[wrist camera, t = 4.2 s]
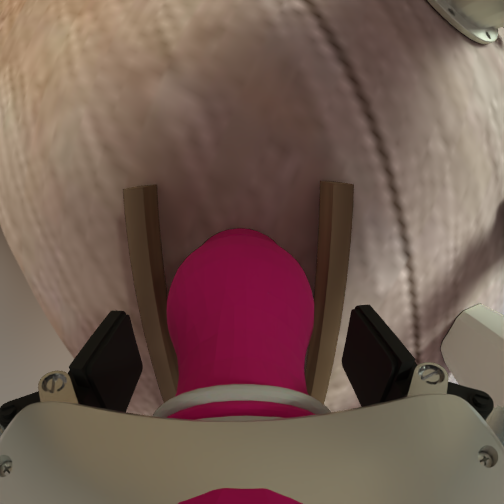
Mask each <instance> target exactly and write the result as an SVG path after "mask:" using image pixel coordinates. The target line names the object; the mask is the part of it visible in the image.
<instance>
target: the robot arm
mask: <svg viewBox="0 0 504 504" xmlns="http://www.w3.org/2000/svg"><path fill="white" fill-rule="evenodd" d="M427 1H428V2H429V3H430V4H431V5H432V6H433V7H434V8H435V9H436V10H437V11H438V12H439V13H440V14H441V16H442V17H444V18H445V19H446V20H447V21H448V22H449V23H450V24H451V25H452V26H454V27H455V28H456V29H457V30H459V31H460V32H461V33H463V34H464V35H466V36H467V37H468V38H470V39H472V40H474V41H476V42H478V43H481V44H489V43H492V42H494V41H495V40H496V39H497V36H498V28H500V27H503V28H504V0H427ZM414 361H415V358H414V357H413V356H412V355H411V353H410V352H409V351H408V350H407V348H406V347H405V346H404V345H403V344H402V342H401V341H400V340H399V339H398V337H397V336H396V335H395V334H394V333H393V332H392V330H391V329H390V328H389V327H388V326H387V324H386V323H385V322H384V321H383V320H382V319H381V317H380V316H379V315H378V314H377V313H376V312H375V310H374V309H373V308H372V307H371V306H370V305H359V306H356V307H355V309H353V310H352V311H351V315H350V321H349V327H348V332H347V337H346V342H345V347H344V352H343V357H342V366H343V368H344V370H345V372H346V374H347V377H348V379H349V381H350V383H351V385H352V387H353V389H354V391H355V393H356V396H357V398H358V400H359V402H360V404H361V406H362V407H359V408H354V409H348V410H343V411H337V412H331V413H324V414H317V415H309V416H301V417H291V418H279V419H267V420H248V421H214V420H192V419H177V418H165V417H156V416H147V415H140V414H133V413H126V410H127V407H128V405H129V402H130V400H131V397H132V395H133V392H134V390H135V387H136V385H137V382H138V380H139V377H140V375H141V372H142V368H143V366H142V361H141V358H140V354H139V351H138V347H137V344H136V340H135V336H134V332H133V328H132V324H131V320H130V316H129V315H126V313H125V312H124V311H111V312H110V313H109V314H108V315H107V317H106V318H105V319H104V321H103V322H102V323H101V324H100V326H99V327H98V328H97V330H96V331H95V332H94V333H93V335H92V336H91V337H90V339H89V340H88V341H87V343H86V344H85V345H84V347H83V348H82V349H81V351H80V352H79V353H78V355H77V356H76V358H75V359H74V360H73V362H72V363H71V365H70V366H69V368H70V371H69V372H68V374H67V373H66V372H63V371H52V372H50V373H47V374H46V375H44V376H43V377H42V378H41V379H40V381H39V384H38V389H39V391H38V392H35V393H32V394H30V395H27V396H24V397H21V398H19V399H15V400H12V401H9V402H7V403H5V404H3V405H2V406H1V408H0V504H178V503H179V502H182V501H185V500H188V499H191V498H194V497H196V496H199V495H202V494H204V493H207V492H209V491H212V490H216V489H220V488H238V489H255V488H266V489H269V490H272V491H274V492H276V493H279V494H282V495H284V496H287V497H289V498H292V499H294V500H296V501H298V502H300V503H303V504H504V408H503V407H501V406H499V405H497V407H496V408H495V407H494V403H493V400H492V398H491V397H490V395H489V394H487V393H486V392H483V391H481V390H477V389H473V388H469V387H466V386H462V385H458V384H455V383H451V382H448V373H447V371H446V370H445V369H444V368H443V367H442V366H440V365H438V364H435V363H431V362H425V363H421V364H419V365H417V364H416V363H415V362H414Z"/></svg>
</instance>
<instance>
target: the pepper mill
mask: <svg viewBox="0 0 504 504" xmlns="http://www.w3.org/2000/svg"><path fill="white" fill-rule="evenodd" d="M167 325H168V330H169V334H170V338H171V341H172V343H173V346H174V349H175V352H176V355H177V360H178V371H179V379H178V386H177V393H176V395H175V397H174V398H172V399H169V400H168V401H167V402H165V403H164V404H162V405H161V406H160V407H159V408H158V409H157V410H156V411H155V413H154V414H153V416H156V417H165V418H177V419H192V420H214V421H248V420H267V419H279V418H291V417H301V416H309V415H317V414H324V413H331V412H330V410H329V409H328V408H327V407H326V406H325V405H323V404H322V403H321V402H320V401H318V400H317V399H315V398H313V397H311V396H309V394H308V392H307V388H306V381H305V374H304V364H305V356H306V351H307V348H308V345H309V342H310V338H311V335H312V332H313V326H314V300H313V295H312V291H311V288H310V285H309V282H308V280H307V277H306V275H305V273H304V271H303V269H302V268H301V266H300V265H299V263H298V262H297V261H296V260H295V259H294V258H293V257H292V256H291V255H290V254H289V253H288V252H287V251H285V250H284V249H283V248H281V247H280V246H278V245H277V244H276V243H275V242H274V241H273V240H272V239H271V238H269V237H268V236H266V235H264V234H262V233H260V232H258V231H254V230H251V229H241V228H237V229H230V230H225V231H223V232H220V233H218V234H216V235H214V236H212V237H211V238H210V239H208V240H207V241H206V242H205V243H204V244H203V245H202V246H201V247H199V248H198V249H196V250H195V251H194V252H193V253H191V254H190V255H189V256H188V257H187V258H186V259H185V261H184V262H183V263H182V264H181V265H180V267H179V268H178V270H177V272H176V274H175V277H174V279H173V281H172V284H171V287H170V290H169V294H168V298H167ZM178 504H303V503H300V502H298V501H296V500H294V499H292V498H289V497H287V496H284V495H282V494H279V493H276V492H274V491H272V490H269V489H266V488H255V489H238V488H220V489H216V490H212V491H209V492H207V493H204V494H202V495H199V496H196V497H194V498H191V499H188V500H185V501H182V502H179V503H178Z"/></svg>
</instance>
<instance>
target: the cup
mask: <svg viewBox="0 0 504 504" xmlns="http://www.w3.org/2000/svg"><path fill="white" fill-rule="evenodd" d="M441 352H442V355H443V358H444V362H445V364H446V365H447V367H448V368H449V370H450V371H451V373H452V374H453V376H454V378H455V379H456V381H457V382H458V384H459V385H462V386H466V387H469V388H473V389H477V390H481V391H483V392H486V393H487V394H489V395H490V397H491V398H492V400H493V403H494V407H495V408H496V407H497V405H499V406H501V407H503V408H504V315H502V314H500V313H498V312H496V311H494V310H492V309H490V308H488V307H486V306H484V305H482V304H478V305H476V306H474V307H471V308H469V309H467V310H464V311H463V312H462V313H461V314H460V315H459V316H458V317H457V319H456V320H455V322H454V324H453V325H452V327H451V329H450V330H449V332H448V334H447V335H446V337H445V339H444V340H443V342H442V345H441Z"/></svg>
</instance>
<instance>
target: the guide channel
mask: <svg viewBox="0 0 504 504" xmlns="http://www.w3.org/2000/svg"><path fill="white" fill-rule="evenodd" d="M353 193H354V184H348V183H342V182H331V181H320V207H319V232H318V250H317V266H316V279H315V291H314V326H313V332H312V335H311V338H310V342H309V348H308V356H307V364H306V371H305V381H306V388H307V392H308V394H309V396H311V397H313V398H315V399H317V400H318V401H320V402H321V403H322V404H323V405H324V401H325V397H326V393H327V389H328V385H329V380H330V376H331V371H332V366H333V361H334V356H335V351H336V346H337V340H338V335H339V329H340V323H341V317H342V310H343V304H344V296H345V289H346V281H347V272H348V263H349V253H350V242H351V229H352V214H353ZM123 196H124V209H125V220H126V230H127V238H128V246H129V254H130V261H131V267H132V274H133V280H134V286H135V291H136V296H137V302H138V307H139V311H140V316H141V321H142V325H143V330H144V334H145V338H146V342H147V346H148V350H149V354H150V358H151V361H152V365H153V369H154V372H155V375H156V379H157V382H158V385H159V389H160V392H161V395H162V398H163V401H164V403H165V402H167V401H168V400H169V399H172V398H174V397H175V395H176V393H177V386H178V379H179V371H178V360H177V355H176V352H175V349H174V346H173V343H172V341H171V338H170V334H169V330H168V325H167V298H168V297H167V290H166V283H165V275H164V267H163V258H162V249H161V239H160V228H159V215H158V201H157V185H146V186H137V187H132V188H127V189H123Z"/></svg>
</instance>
